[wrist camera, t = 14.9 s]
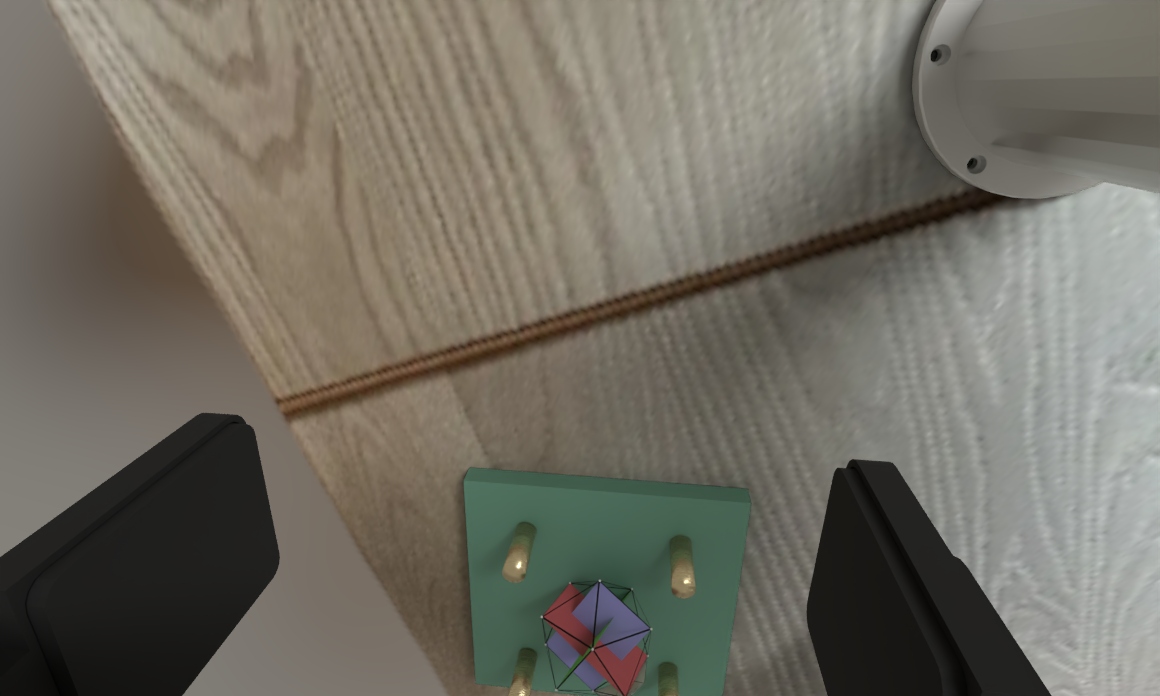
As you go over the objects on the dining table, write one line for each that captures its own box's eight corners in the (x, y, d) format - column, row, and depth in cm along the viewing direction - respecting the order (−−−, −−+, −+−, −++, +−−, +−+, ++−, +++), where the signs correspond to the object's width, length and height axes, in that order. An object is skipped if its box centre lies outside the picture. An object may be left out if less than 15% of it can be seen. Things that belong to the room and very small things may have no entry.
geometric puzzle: (501, 617, 42) (549, 743, 36) (554, 550, 39) (614, 675, 34) (582, 608, 46) (635, 718, 41) (634, 548, 44) (698, 657, 38)
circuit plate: (747, 488, 40) (751, 503, 39) (718, 692, 47) (720, 710, 46) (469, 467, 42) (463, 480, 40) (480, 666, 49) (475, 683, 47)
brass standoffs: (692, 535, 40) (696, 581, 36) (677, 677, 45) (679, 730, 41) (515, 520, 41) (501, 563, 37) (518, 660, 46) (506, 710, 42)
